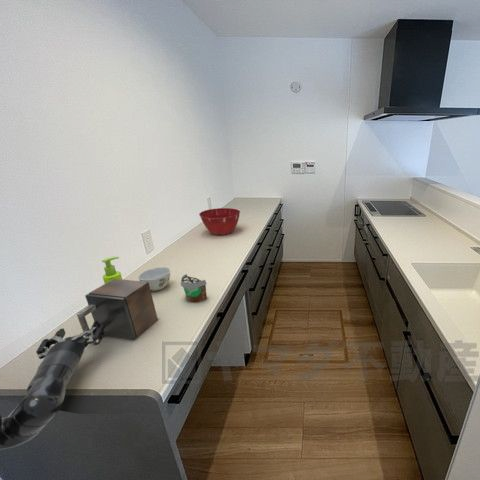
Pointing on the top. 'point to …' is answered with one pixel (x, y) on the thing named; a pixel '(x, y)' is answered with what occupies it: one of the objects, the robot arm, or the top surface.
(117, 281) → the cupboard
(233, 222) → the mixing bowl
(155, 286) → the teacup
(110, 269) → the soap dispenser
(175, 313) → the top surface
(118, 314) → the door
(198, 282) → the food container
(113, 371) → the top surface
